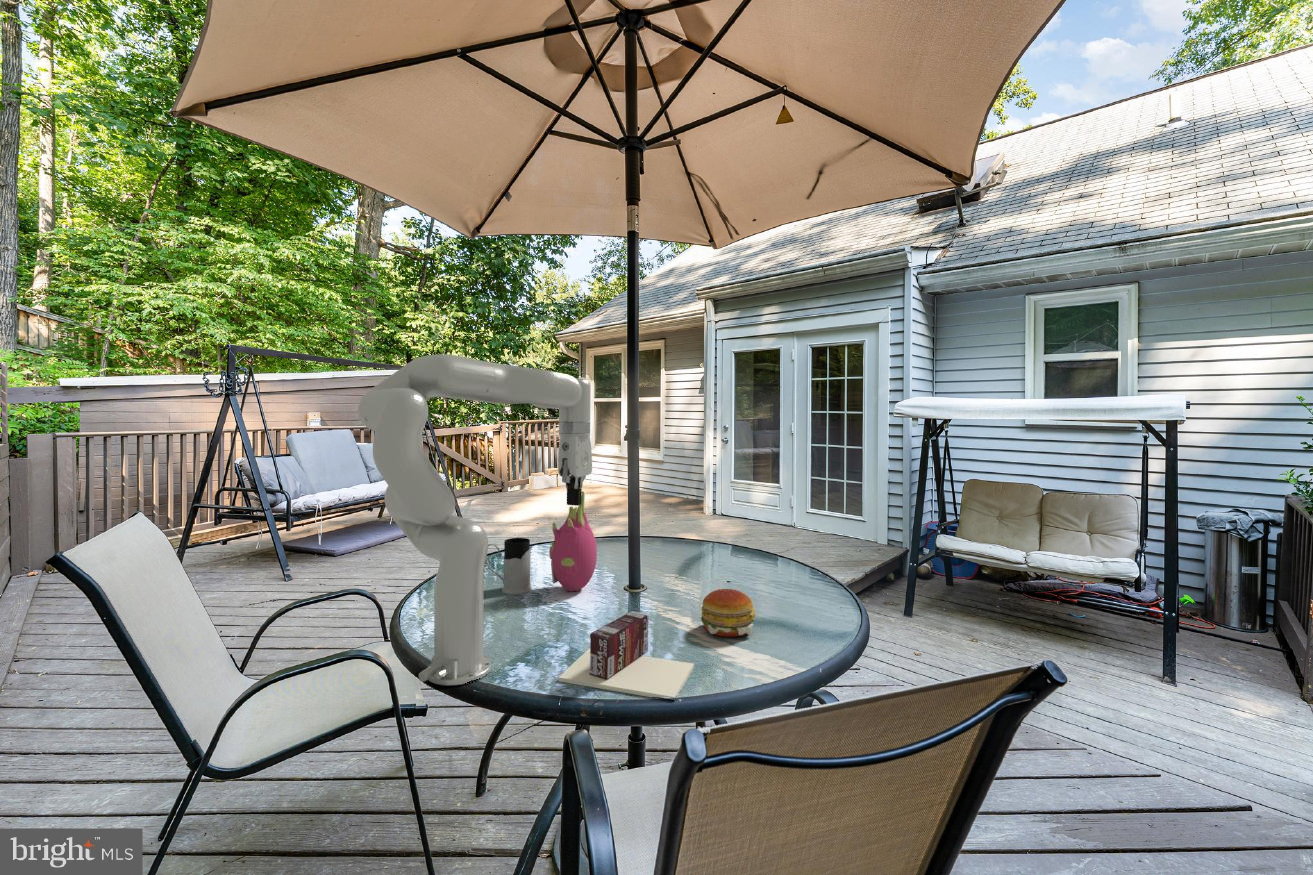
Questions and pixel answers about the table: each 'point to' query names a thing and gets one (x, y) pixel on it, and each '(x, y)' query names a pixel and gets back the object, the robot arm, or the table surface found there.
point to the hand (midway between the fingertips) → (574, 504)
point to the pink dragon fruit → (573, 550)
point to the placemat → (634, 676)
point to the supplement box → (618, 644)
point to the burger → (728, 613)
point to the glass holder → (515, 565)
